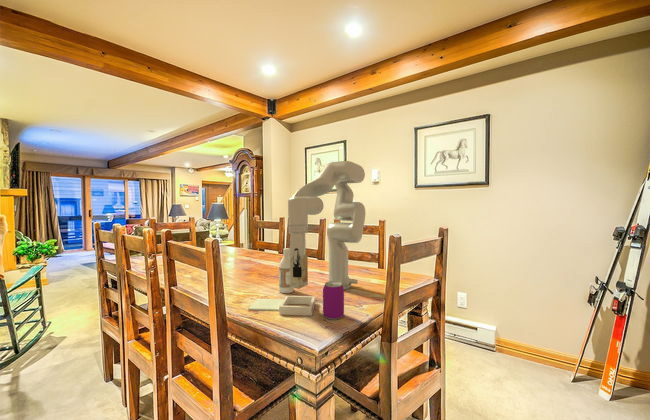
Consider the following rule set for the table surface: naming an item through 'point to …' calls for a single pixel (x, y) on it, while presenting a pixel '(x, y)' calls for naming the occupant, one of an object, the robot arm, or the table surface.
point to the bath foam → (285, 272)
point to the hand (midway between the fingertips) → (299, 273)
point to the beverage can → (333, 300)
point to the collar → (297, 309)
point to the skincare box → (302, 281)
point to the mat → (266, 304)
